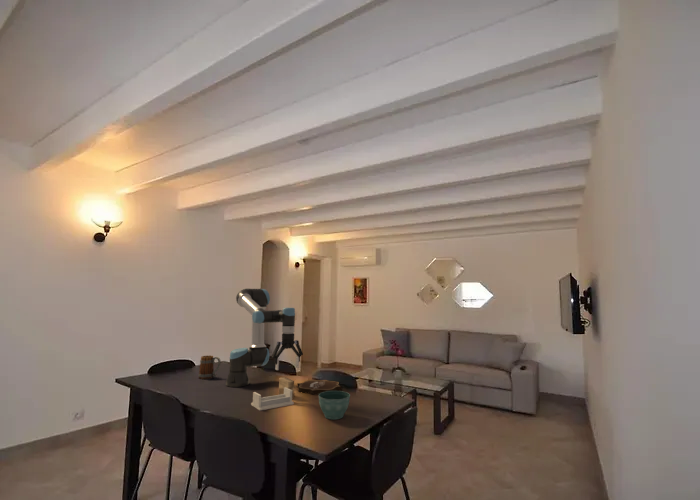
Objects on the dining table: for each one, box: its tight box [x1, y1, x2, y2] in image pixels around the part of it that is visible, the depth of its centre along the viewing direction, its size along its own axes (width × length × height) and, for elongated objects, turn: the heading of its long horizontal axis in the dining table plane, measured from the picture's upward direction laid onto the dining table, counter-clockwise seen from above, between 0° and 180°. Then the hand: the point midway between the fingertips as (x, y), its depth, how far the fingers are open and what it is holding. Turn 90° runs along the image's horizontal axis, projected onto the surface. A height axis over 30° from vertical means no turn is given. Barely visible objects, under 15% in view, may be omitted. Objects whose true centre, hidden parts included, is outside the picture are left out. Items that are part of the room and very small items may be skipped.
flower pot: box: [318, 390, 351, 421], centre depth 190 cm, size 16×16×11 cm
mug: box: [197, 355, 221, 380], centre depth 271 cm, size 16×11×15 cm
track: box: [250, 387, 295, 411], centre depth 208 cm, size 12×20×7 cm, turn 127°
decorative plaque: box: [296, 379, 343, 396], centre depth 244 cm, size 30×3×30 cm
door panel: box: [278, 376, 295, 399], centre depth 225 cm, size 4×12×10 cm, turn 37°
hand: (287, 368), depth 227 cm, fingers open, 13 cm apart
